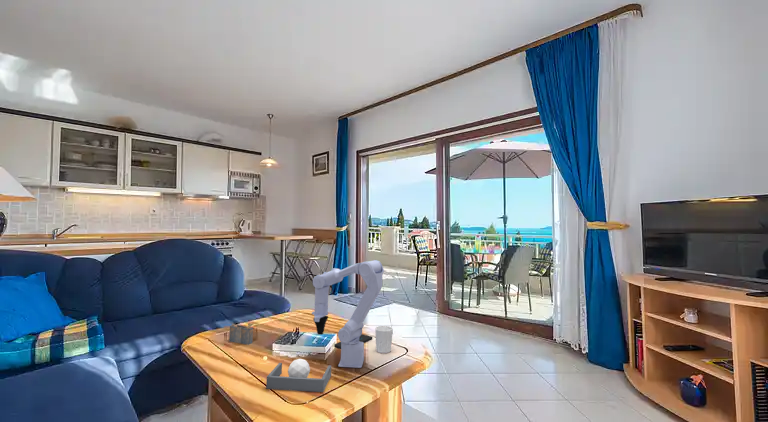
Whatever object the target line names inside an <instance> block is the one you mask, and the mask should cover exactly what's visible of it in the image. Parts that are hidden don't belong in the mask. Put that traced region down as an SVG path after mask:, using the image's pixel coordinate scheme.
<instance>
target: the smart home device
mask: <svg viewBox="0 0 768 422" xmlns="http://www.w3.org/2000/svg"><path fill="white" fill-rule="evenodd" d="M372 340H373V336H371V335H367V334H363V333H362V334H361V336H360V337H359V341H360V342H364V344H366V343H367V342H369V341H370V342H371V341H372ZM333 344H334V345H333V347H334V348H336V349H339V350H341V341H338V342H336V343H333Z"/></svg>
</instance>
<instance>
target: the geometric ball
mask: <svg viewBox="0 0 768 422" xmlns="http://www.w3.org/2000/svg"><path fill="white" fill-rule="evenodd" d="M310 371H311V367H310V364H309V362H308V361H307V360H306V359H302V358H298V359H293V361H292V362H291V363H290V365H289V367H288V370H287V374H288V375H287V376H288V377H300V378H309V374H310Z"/></svg>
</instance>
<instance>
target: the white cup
mask: <svg viewBox="0 0 768 422" xmlns="http://www.w3.org/2000/svg"><path fill="white" fill-rule="evenodd" d="M374 330H375V331H374V332H375V351H376V352H378V353H380V354H387V353H390V352H392V351H391V350H392V341H393V331H394V330H393V327H392V326H389V325H378V326H376V327H375V329H374Z"/></svg>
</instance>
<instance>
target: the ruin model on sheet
mask: <svg viewBox="0 0 768 422" xmlns="http://www.w3.org/2000/svg"><path fill="white" fill-rule="evenodd" d="M253 325H254V323H253V322H248V325H247V326H245V325H239V324H237V325H236V326H235V324H232V325H229V335H228V336H229V340H228V341H229V342H230V343H231V342H232V343H235V344H236V343H237V344H243V345H247V346H249V345H251V344H253V340H254V339H253V338H254V337H253V335H254V327H253Z"/></svg>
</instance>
